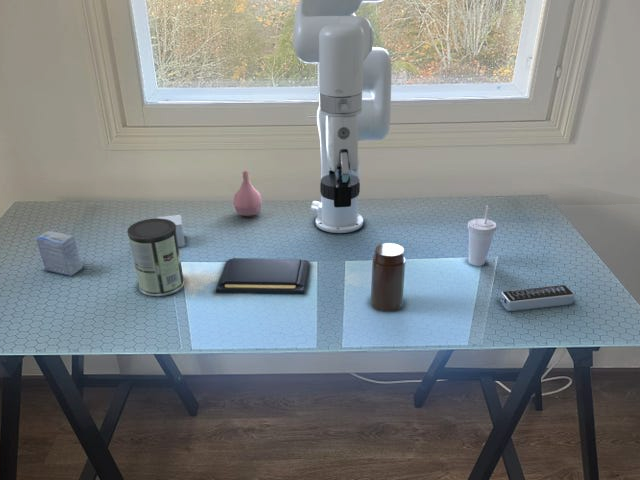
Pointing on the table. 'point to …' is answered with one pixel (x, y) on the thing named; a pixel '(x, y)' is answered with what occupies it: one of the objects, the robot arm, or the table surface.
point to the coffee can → (156, 256)
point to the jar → (388, 277)
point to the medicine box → (59, 253)
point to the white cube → (177, 228)
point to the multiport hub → (536, 298)
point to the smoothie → (480, 239)
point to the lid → (329, 183)
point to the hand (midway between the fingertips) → (339, 197)
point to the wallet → (264, 276)
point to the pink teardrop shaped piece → (247, 198)
